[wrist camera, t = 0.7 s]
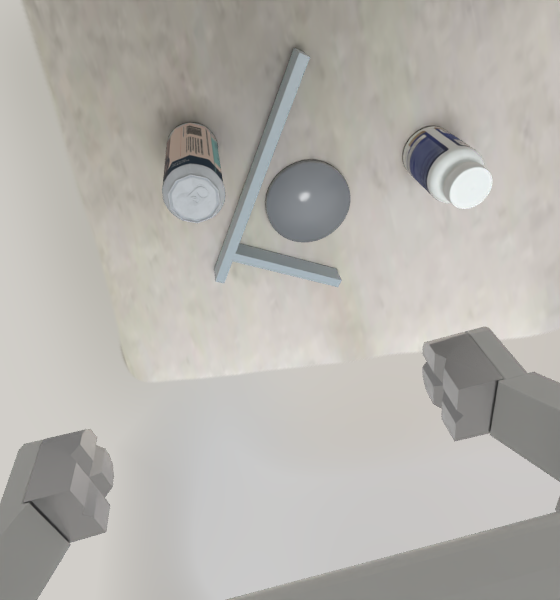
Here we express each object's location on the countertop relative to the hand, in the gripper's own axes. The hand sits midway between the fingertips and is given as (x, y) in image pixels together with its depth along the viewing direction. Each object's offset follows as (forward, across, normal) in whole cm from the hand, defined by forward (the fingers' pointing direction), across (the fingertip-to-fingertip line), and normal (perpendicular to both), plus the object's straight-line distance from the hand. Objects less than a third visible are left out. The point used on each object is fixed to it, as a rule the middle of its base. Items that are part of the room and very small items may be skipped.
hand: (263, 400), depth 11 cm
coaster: (+38, -7, +14) cm, 41 cm away
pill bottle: (+38, -20, +11) cm, 44 cm away
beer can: (+38, +3, +5) cm, 38 cm away
